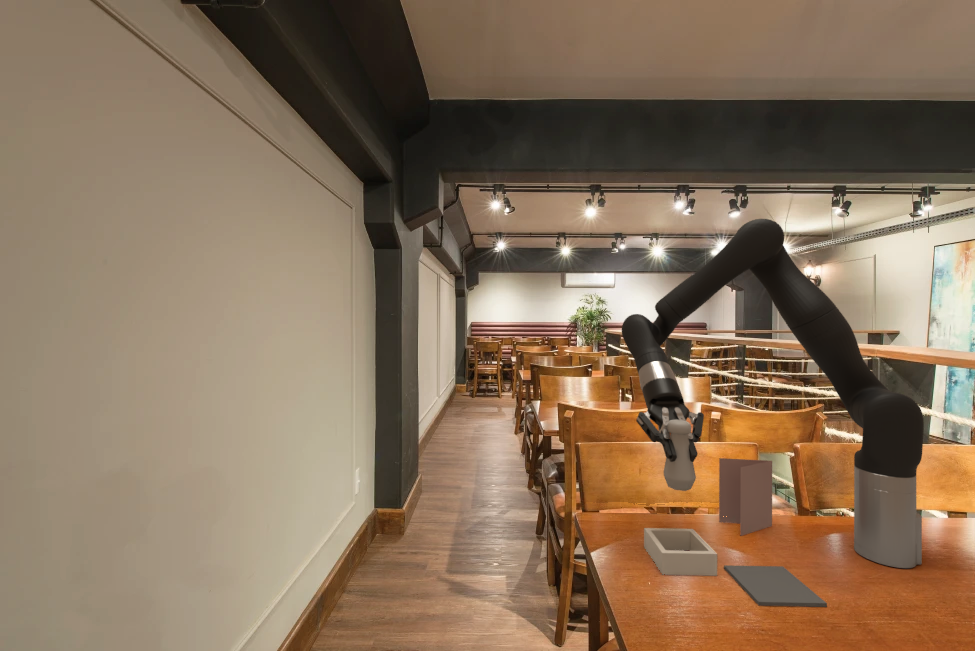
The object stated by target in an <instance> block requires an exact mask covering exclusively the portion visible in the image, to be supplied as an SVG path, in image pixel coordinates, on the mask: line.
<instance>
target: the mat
mask: <svg viewBox="0 0 975 651" xmlns="http://www.w3.org/2000/svg"><path fill="white" fill-rule="evenodd" d="M723 569H724V571H726V572H727V573H728V575H729V576H730V577H732V579H733V580H734V581H735V582H736V583H737V584H738V585H739V586H740V588H742V589H743V590H744V592H746V594H747V595H748V596H749V597H750V598H751V599H752V600H753V601H754V602H755V604H757V605H758V606H760V607H761V606H765V607H766V606H769V607H771V606H772V607H812V608H815V607H816V608H821V607H823V608H827V607H828V603H827V602H826V601H825V600H824V599H822V598H821V597H820V596H819V595H818V594H816V593H815V592H814V591H813V590H812V589H811V588H810V587H808V586H807V585H806V584H804V583H803V582H802V580H800V579H799V578H797V577H796V576H795V575H794V574H793V573H791V571H789V570H788V569H787V568H786V567H785V566H781V565H779V566H778V565H773V566H772V565H770V566H769V565H723Z"/></svg>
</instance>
